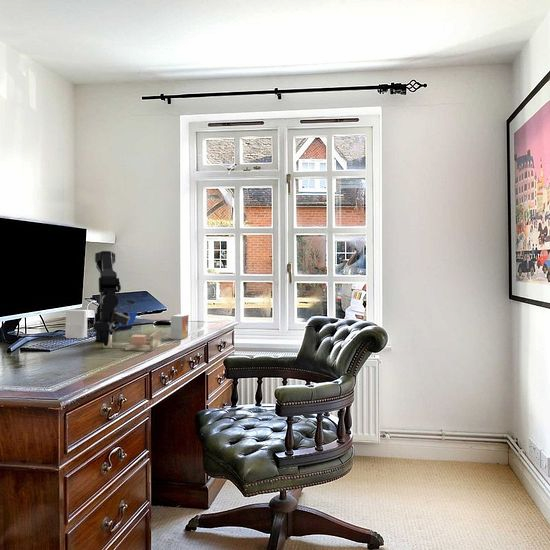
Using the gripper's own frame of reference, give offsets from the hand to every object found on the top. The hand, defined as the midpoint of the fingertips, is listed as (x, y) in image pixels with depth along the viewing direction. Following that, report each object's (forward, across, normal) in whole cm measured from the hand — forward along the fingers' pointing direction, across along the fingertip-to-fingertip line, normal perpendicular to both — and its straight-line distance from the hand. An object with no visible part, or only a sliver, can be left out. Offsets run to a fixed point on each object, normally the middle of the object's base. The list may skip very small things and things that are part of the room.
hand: (107, 345), depth 203 cm
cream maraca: (+1, 0, -7) cm, 7 cm away
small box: (+1, +29, -25) cm, 38 cm away
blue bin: (+2, +50, +10) cm, 51 cm away
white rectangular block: (+1, +24, +20) cm, 32 cm away
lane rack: (+1, +4, -14) cm, 14 cm away
